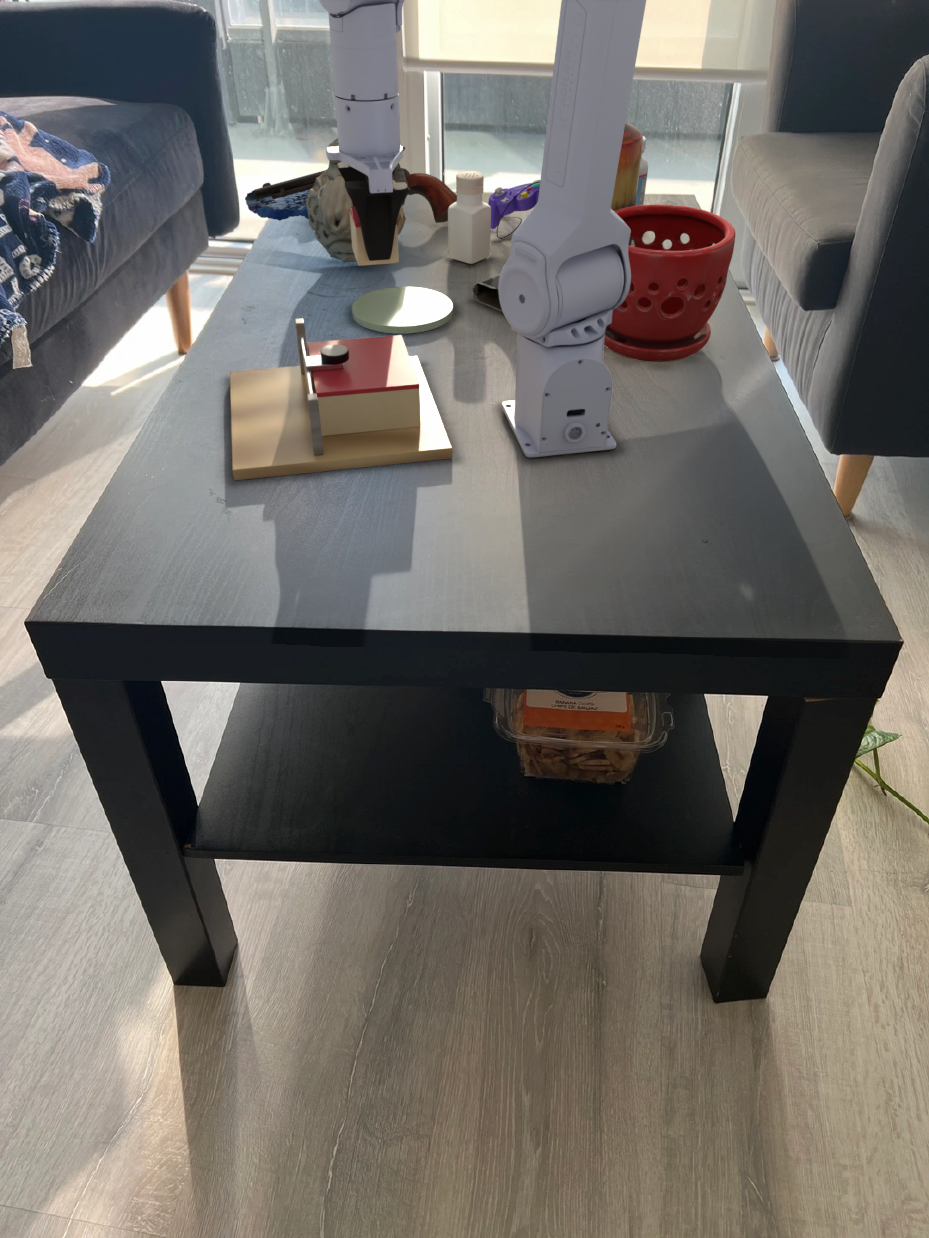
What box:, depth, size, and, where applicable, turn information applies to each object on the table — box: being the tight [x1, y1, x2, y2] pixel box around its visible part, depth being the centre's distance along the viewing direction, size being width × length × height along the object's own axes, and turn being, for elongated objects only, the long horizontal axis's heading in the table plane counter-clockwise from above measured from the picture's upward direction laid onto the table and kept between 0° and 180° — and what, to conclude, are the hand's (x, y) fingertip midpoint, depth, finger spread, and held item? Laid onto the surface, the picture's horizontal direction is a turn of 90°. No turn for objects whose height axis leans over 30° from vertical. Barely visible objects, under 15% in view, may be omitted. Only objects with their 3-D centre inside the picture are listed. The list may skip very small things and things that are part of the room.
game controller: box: [487, 179, 541, 240], centre depth 120 cm, size 10×8×10 cm
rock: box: [244, 189, 311, 222], centre depth 127 cm, size 15×17×2 cm
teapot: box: [306, 137, 407, 264], centre depth 109 cm, size 21×12×15 cm, turn 170°
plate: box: [351, 286, 454, 335], centre depth 101 cm, size 11×11×1 cm
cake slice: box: [349, 207, 400, 267], centre depth 91 cm, size 5×4×4 cm
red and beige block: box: [306, 334, 421, 436], centre depth 82 cm, size 10×9×4 cm
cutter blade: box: [301, 338, 349, 394], centre depth 81 cm, size 11×4×5 cm, turn 12°
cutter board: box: [229, 318, 453, 481], centre depth 81 cm, size 18×18×6 cm
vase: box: [611, 121, 644, 246], centre depth 106 cm, size 11×11×20 cm
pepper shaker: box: [447, 171, 492, 265], centre depth 111 cm, size 4×4×10 cm
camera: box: [472, 274, 503, 313], centre depth 101 cm, size 5×10×4 cm, turn 41°
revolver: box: [253, 146, 457, 224], centre depth 123 cm, size 26×4×12 cm
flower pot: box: [604, 203, 736, 363], centre depth 91 cm, size 13×13×12 cm
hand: (375, 249), depth 92 cm, fingers closed on cake slice, 5 cm apart
